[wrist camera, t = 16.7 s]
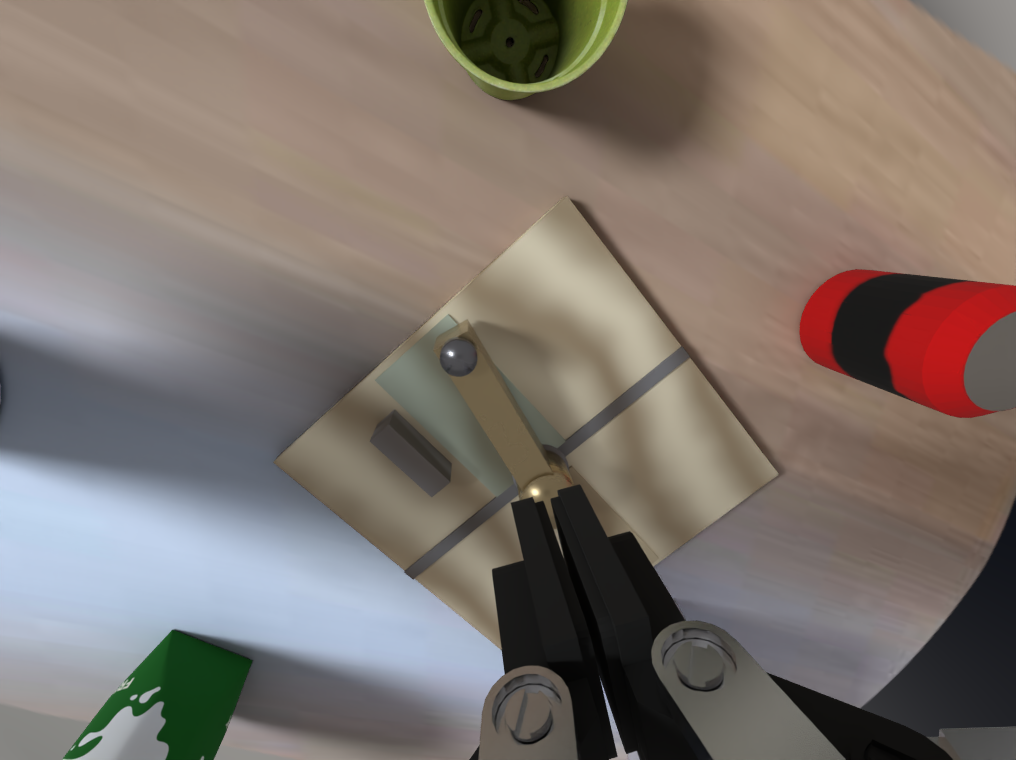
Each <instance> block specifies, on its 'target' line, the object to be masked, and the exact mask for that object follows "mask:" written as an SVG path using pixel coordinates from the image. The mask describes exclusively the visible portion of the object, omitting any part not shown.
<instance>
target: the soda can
mask: <svg viewBox="0 0 1016 760" xmlns="http://www.w3.org/2000/svg"><path fill="white" fill-rule="evenodd" d="M800 339H801V343H802V346H803V348H804V351H805V352H806V353H807V355H808V356H809V357H810V358H811V359H812V360H813V361H814V362H816V363H818V364H820V365H822V366H824V367H827V368H829V369H832V370H834V371H837V372H839V373H842V374H844V375H847V376H850V377H852V378H855V379H857V380H860V381H862V382H865V383H868V384H870V385H873V386H875V387H878V388H880V389H883V390H886V391H888V392H891V393H893V394H896V395H898V396H901V397H903V398H906V399H909V400H911V401H914V402H916V403H919V404H921V405H924V406H927V407H929V408H932V409H934V410H937V411H939V412H942V413H945V414H947V415H950V416H955V417H959V418H972V417H977V416H983V415H987V414H990V413H994V412H998V411H1005V410H1010V409H1013V408H1016V286H1013V285H1004V284H995V283H985V282H976V281H966V280H957V279H948V278H938V277H929V276H920V275H910V274H901V273H891V272H882V271H873V270H859V269H856V270H850V271H845V272H843V273H840V274H837V275H836V276H834V277H832V278H830V279H829V280H827V281H826V282H825V283H824V284H822V285H821V286H820V287H819V288H818V289H817V290H816V291H815V293H814V294H813V295H812V296H811V298H810V299H809V301H808V303H807V304H806V306H805V309H804V311H803V313H802V317H801V322H800Z"/></svg>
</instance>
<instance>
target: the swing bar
mask: <svg viewBox="0 0 1016 760" xmlns="http://www.w3.org/2000/svg"><path fill="white" fill-rule="evenodd" d="M433 351H434V352H435V354H436V356H437V357H438V359H439V360H440V364H441V366H442V368H443V369H444V371H445V372H447V373H448V375H449V376H450V378H451V379H452V381H453V382H454V384H455V386H456V387H457V389H458V390H459V392H460V393H461V395H462V397H463V398H464V400H465V401H466V403H467V404H468V406H469V408H470V409H471V411H472V412H473V414H474V415H475V417H476V419H477V420H478V422H479V423H480V425H481V427H482V428H483V430H484V431H485V433H486V434H487V436H488V438H489V439H490V441H491V442H492V444H493V445H494V447H495V449H496V450H497V452H498V453H499V455H500V456H501V458H502V460H503V461H504V463H505V464H506V466H507V468H508V469H509V471H510V472H511V474H512V475H513V477H514V479H515V480H516V485H517V490H518V495H519V500H522V499H526V498H530V497H533V499H534V502H535V503H536V502H539V501H544V504H545V506H546V509H547V512H548V515H549V518H550V521H551V524H552V526H553V529H557V527H556V522H555V518H554V514H553V509H552V505H551V500H550V499H551V498H554V497H558V492H557V490H560V489H563V488H567V487H571V486H574V483H573V480H572V478H571V476H570V473H569V471H568V468H567V466H566V464H565V462H564V460H563V459H562V458H561V457H560V456H559V455H558V454H556V453H554V452H552V451H548V450H545V449H544V447H543V445H542V444H541V442H540V440H539V438H538V437H537V435H536V433H535V432H534V430H533V428H532V427H531V425H530V423H529V422H528V420H527V418H526V417H525V415H524V413H523V412H522V410H521V408H520V406H519V405H518V403H517V401H516V400H515V398H514V396H513V395H512V393H511V391H510V390H509V388H508V386H507V385H506V383H505V381H504V380H503V378H502V376H501V374H500V373H499V371H498V369H497V368H496V366H495V364H494V363H493V361H492V359H491V358H490V356H489V354H488V353H487V351H486V349H485V348H484V346H483V344H482V342H481V341H480V339H479V337H478V336H477V334H476V332H475V331H474V329H473V327H472V326H471V324H470V322H469V321H468V319H467V320H465V321H463V322H461V323H460V324H458V325H456V326H454V327H453V328H451V329H449V330H447V331H446V332H444V333H442V334H440V335H439V336H437V338H436V342H435V345H434V349H433Z"/></svg>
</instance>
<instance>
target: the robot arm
mask: <svg viewBox="0 0 1016 760" xmlns="http://www.w3.org/2000/svg"><path fill="white" fill-rule="evenodd" d="M0 403H1V384H0ZM557 492H558V497H554V498H551V499H550V500H551V505H552V509H553V514H554V518H555V522H556V527H557V531H558V535H559V540H560V544H561V548H562V552H561V549H560V546H559V544H558V541H557V538H556V535H555V532H554V529H553V526H552V524H551V521H550V518H549V515H548V512H547V509H546V506H545V504H544V501H539V502H536V503H535V502H534V499H533V497H530V498H526V499H522V500H519V501H515V502H511V507H512V511H513V516H514V520H515V524H516V529H517V533H518V538H519V542H520V546H521V551H522V555H523V561H519V562H516V563H512V564H508V565H505V566H501V567H497V568H494V569H492V577H493V585H494V593H495V601H496V609H497V617H498V624H499V632H500V640H501V648H502V656H503V663H504V671H505V675H504V676H502V677H501V678H500V679H499V680H498V681H497V682H496V683H495V684H494V685H493V686H492V688H491V690H490V691H489V693H488V695H487V697H486V699H485V703H484V707H483V711H482V721H481V734H480V745H479V747H478V748H477V750H476V751H475V753H474V754H473V755H472V757H471V758H470V760H609V759H611V758H615V757H617V752H616V748H615V743H614V739H613V734H612V730H611V725H610V721H609V717H608V712H607V708H606V703H605V699H604V694H603V690H602V685H603V688H604V691H605V693H606V696H607V699H608V702H609V705H610V708H611V711H612V714H613V717H614V720H615V723H616V726H617V729H618V732H619V735H620V738H621V741H622V744H623V747H624V749H625V752H626V754H628V753H632V752H635V751H637V753H638V756H639V759H640V760H1016V727H995V728H994V727H993V728H957V729H940V733H939V737H925V736H924V735H922V734H920V733H918V732H916V731H914V730H912V729H910V728H908V727H906V726H904V725H901V724H899V723H896V722H893V721H891V720H888V719H885V718H883V717H880V716H878V715H875V714H873V713H870V712H867V711H865V710H862V709H860V708H857V707H855V706H852V705H849V704H847V703H844V702H842V701H839V700H837V699H834V698H831V697H829V696H826V695H824V694H821V693H818V692H816V691H813V690H811V689H808V688H806V687H803V686H800V685H798V684H795V683H793V682H790V681H787V680H785V679H782V678H780V677H777V676H774V675H772V674H769V673H767V672H765V671H764V670H763V669H762V668H761V667H760V666H759V664H758V663H757V662H756V661H755V660H754V659H753V658H752V657H751V656H750V655H749V654H748V652H747V651H746V650H745V649H744V648H743V647H742V646H741V645H740V644H739V643H738V642H737V640H735V639H734V638H733V637H732V636H731V635H730V634H728V633H727V632H726V631H725V630H723V629H721V628H719V627H717V626H715V625H713V624H709V623H705V622H701V621H686V620H685V619H684V617H683V615H682V614H681V612H680V610H679V609H678V607H677V605H676V604H675V602H674V600H673V599H672V597H671V595H670V594H669V592H668V591H667V589H666V587H665V586H664V584H663V582H662V581H661V579H660V577H659V576H658V574H657V572H656V571H655V569H654V567H653V566H652V564H651V562H650V561H649V559H648V557H647V556H646V554H645V553H644V551H643V549H642V548H641V546H640V544H639V543H638V541H637V539H636V538H635V536H634V535H633V533H632V532H630V531H628V532H625V533H621V534H617V535H614V536H610V537H607V535H606V533H605V531H604V529H603V527H602V525H601V523H600V521H599V520H598V518H597V516H596V514H595V512H594V510H593V508H592V506H591V504H590V502H589V500H588V498H587V496H586V494H585V492H584V490H583V489H582V487H581V485H580V484H578V485H574V486H571V487H567V488H563V489H560V490H557ZM562 553H563V555H562ZM563 557H564V558H563ZM600 679H601V681H600ZM601 682H602V685H601Z"/></svg>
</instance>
